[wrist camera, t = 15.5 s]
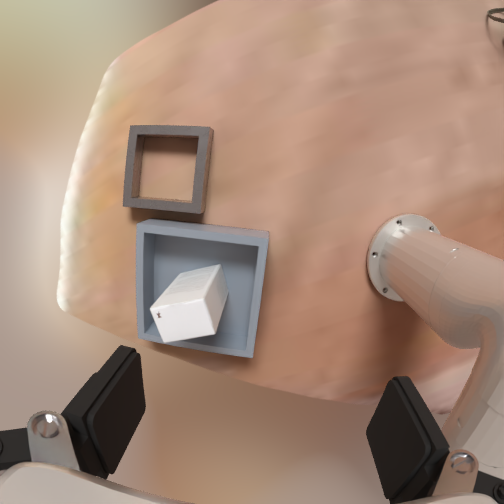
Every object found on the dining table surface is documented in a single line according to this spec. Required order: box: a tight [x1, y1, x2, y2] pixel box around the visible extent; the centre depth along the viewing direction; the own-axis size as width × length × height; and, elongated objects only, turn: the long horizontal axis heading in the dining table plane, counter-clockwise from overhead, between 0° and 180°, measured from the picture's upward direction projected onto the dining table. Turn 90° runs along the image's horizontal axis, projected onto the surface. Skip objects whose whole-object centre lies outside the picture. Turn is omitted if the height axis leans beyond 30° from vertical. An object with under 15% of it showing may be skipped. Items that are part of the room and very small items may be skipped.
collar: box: [123, 125, 214, 214], centre depth 37 cm, size 11×11×2 cm
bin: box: [136, 218, 269, 358], centre depth 39 cm, size 16×16×5 cm
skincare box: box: [150, 264, 229, 343], centre depth 34 cm, size 6×4×12 cm
